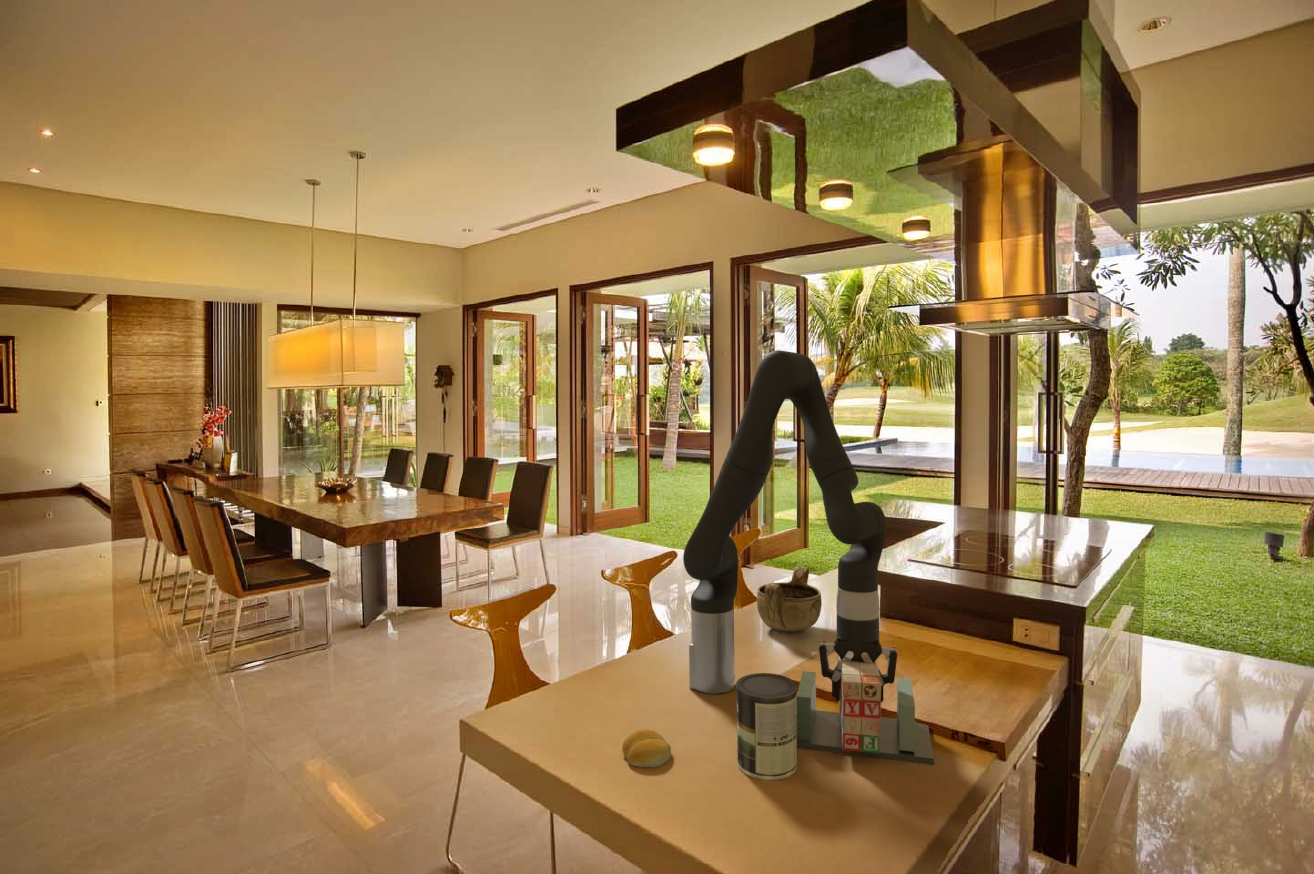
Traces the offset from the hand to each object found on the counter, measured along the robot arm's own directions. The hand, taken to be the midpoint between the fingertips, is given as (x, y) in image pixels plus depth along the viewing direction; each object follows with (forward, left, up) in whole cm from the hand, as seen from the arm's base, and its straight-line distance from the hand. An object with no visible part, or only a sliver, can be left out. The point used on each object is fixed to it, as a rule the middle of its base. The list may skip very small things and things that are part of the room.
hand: (857, 701), depth 133 cm
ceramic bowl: (-18, +56, -7) cm, 59 cm away
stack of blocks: (0, 0, -5) cm, 5 cm away
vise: (+1, 0, -7) cm, 7 cm away
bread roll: (-36, -16, -7) cm, 40 cm away
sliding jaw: (+8, 0, -5) cm, 10 cm away
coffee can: (-15, -14, -7) cm, 21 cm away
